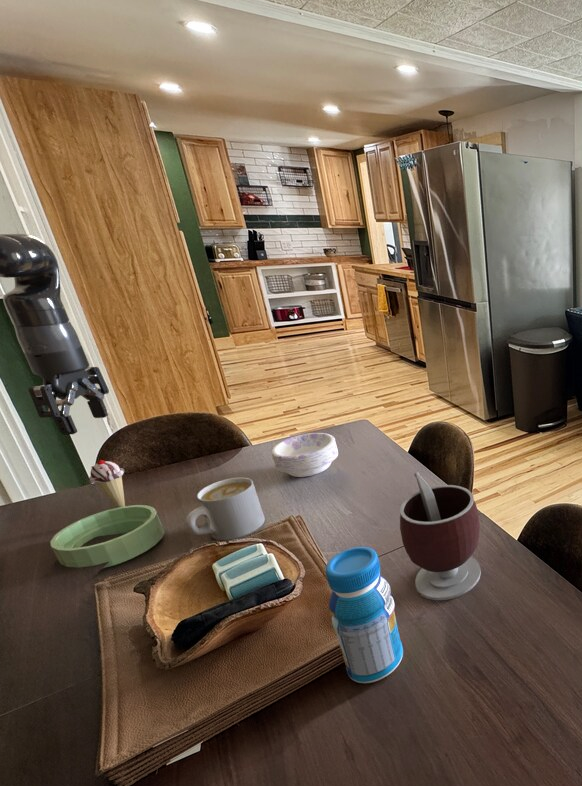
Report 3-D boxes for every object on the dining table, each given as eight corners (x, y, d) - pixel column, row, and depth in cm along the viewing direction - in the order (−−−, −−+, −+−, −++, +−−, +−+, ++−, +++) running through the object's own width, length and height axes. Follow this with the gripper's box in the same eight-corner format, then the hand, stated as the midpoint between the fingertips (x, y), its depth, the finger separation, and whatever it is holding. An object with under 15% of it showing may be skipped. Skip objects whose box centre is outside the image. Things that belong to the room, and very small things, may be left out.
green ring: (41, 581, 91) (27, 555, 89) (98, 533, 105) (87, 510, 103) (138, 567, 95) (126, 543, 92) (180, 523, 109) (171, 501, 106)
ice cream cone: (102, 521, 109) (75, 464, 103) (130, 508, 114) (105, 452, 108) (121, 525, 108) (94, 467, 102) (148, 511, 113) (124, 455, 107)
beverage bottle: (370, 695, 69) (342, 589, 62) (334, 671, 73) (304, 568, 65) (416, 653, 76) (396, 553, 69) (381, 632, 80) (358, 535, 72)
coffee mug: (254, 509, 114) (242, 473, 110) (272, 523, 109) (260, 486, 105) (185, 537, 104) (169, 498, 100) (201, 554, 98) (185, 514, 95)
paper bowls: (285, 489, 122) (277, 462, 119) (273, 468, 133) (265, 442, 130) (347, 470, 132) (342, 444, 129) (332, 451, 142) (326, 427, 139)
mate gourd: (498, 578, 92) (489, 490, 85) (430, 615, 84) (413, 521, 76) (460, 542, 103) (449, 460, 95) (396, 571, 94) (378, 484, 86)
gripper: (58, 339, 95) (89, 413, 101) (-7, 357, 82) (33, 441, 88) (103, 337, 97) (131, 411, 103) (46, 355, 84) (82, 438, 90)
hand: (86, 425), depth 96 cm, fingers open, 8 cm apart
